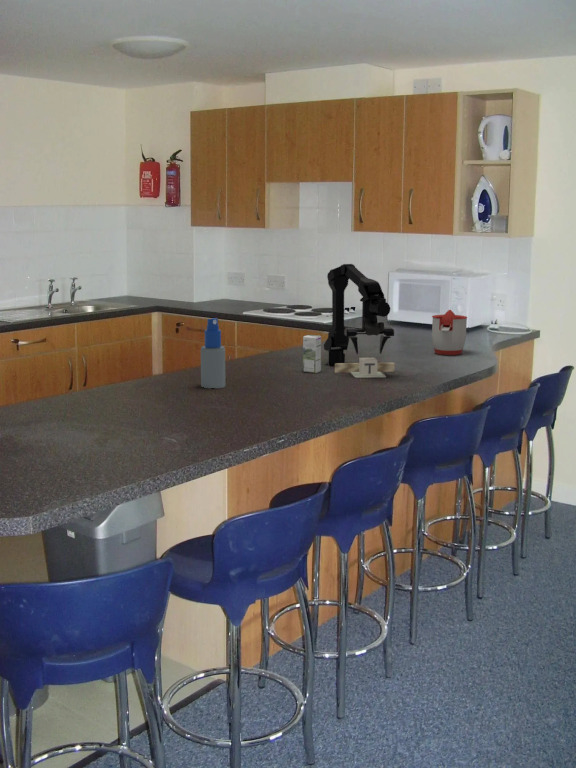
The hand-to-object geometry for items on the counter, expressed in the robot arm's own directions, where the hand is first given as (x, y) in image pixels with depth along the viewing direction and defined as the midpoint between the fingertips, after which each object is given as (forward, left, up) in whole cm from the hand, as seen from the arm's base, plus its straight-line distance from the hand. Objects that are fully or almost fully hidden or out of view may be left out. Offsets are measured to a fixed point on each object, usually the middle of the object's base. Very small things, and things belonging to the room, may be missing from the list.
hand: (368, 353), depth 342 cm
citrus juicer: (+46, +48, -9) cm, 67 cm away
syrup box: (-21, +10, -9) cm, 25 cm away
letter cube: (0, 0, -8) cm, 8 cm away
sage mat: (0, 0, -8) cm, 9 cm away
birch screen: (0, +7, -8) cm, 11 cm away
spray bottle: (-61, -16, -9) cm, 64 cm away
